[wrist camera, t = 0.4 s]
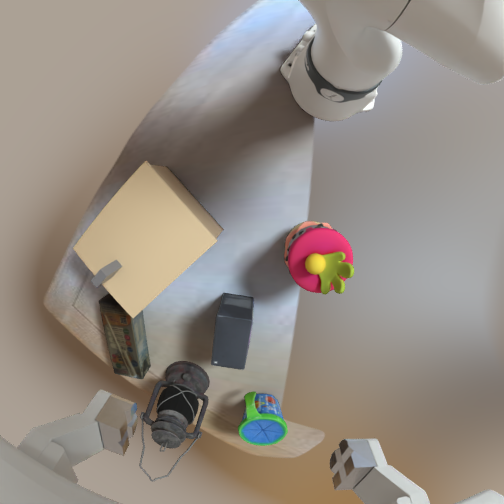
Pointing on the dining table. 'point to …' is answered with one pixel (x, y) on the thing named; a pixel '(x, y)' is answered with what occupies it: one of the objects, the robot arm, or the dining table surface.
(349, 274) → the cake
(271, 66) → the dining table surface
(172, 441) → the lantern
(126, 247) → the lid flap
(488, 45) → the robot arm
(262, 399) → the snack cup
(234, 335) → the small box
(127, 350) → the beverage carton
